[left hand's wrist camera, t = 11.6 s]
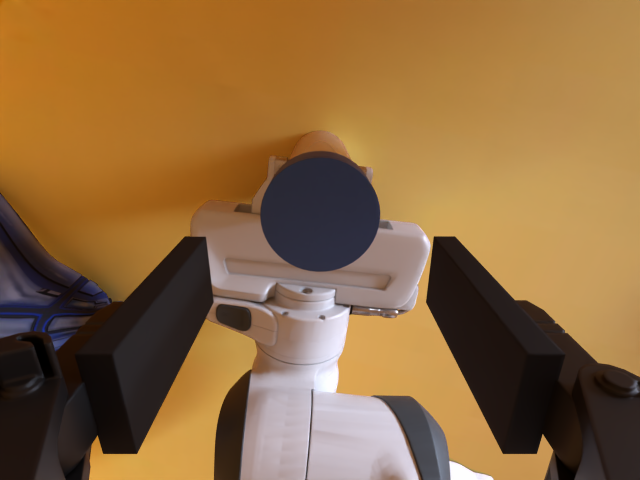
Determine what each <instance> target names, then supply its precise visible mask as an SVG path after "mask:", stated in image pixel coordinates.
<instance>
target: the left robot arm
mask: <svg viewBox="0 0 640 480" xmlns="http://www.w3.org/2000/svg"><path fill="white" fill-rule="evenodd" d="M213 303H214V299H213V291H212V282H211V274H210V266H209V257H208V249H207V240H206V237H184V238H183V239H182V240H181V241H180V243H179V244H178V245H177V246H176V247H175V248H174V249H173V250H172V251H171V252H170V253H169V254H168V255H167V256H166V257H165V258H164V260H163V261H162V262H161V263H160V264H159V265H158V266H157V267H156V268H155V269H154V270H153V271H152V272H151V273H150V274H149V275H148V277H147V278H146V279H145V280H144V281H143V282H142V283H141V284H140V285H139V286H138V287H137V288H136V289H135V290H134V291H133V293H132V294H131V295H130V296H129V297H128V298H127V299H126V300H125V301H124V302H112V303H111V304H109V305H107V306H105V307H104V308H102V309H100V310H98V311H97V312H96V313H95V314H94V315H93V316H92V317H91V318H90V319H89V320H88V321H86V322H85V325H82V326H81V327H80V328H79V329H78V330H77V331H76V334H75V335H72V336H71V337H70V338H69V339H68V340H67V341H66V342H65V343H64V344H63V345H62V346H61V347H60V348H59V349H58V350H57V351H55V348H54V345H53V342H52V338H51V336H50V335H48V334H46V333H45V332H37V331H31V332H22V333H17V334H14V335H10V336H6V337H3V338H1V339H0V480H89V474H90V461H89V457H88V454H87V451H88V449H89V448H90V446H91V445H92V443H93V441H94V440H95V438H96V437H97V435H98V438H99V441H100V444H101V448H102V451H103V454H137V453H138V451H139V449H140V447H141V445H142V443H143V441H144V439H145V437H146V435H147V433H148V431H149V429H150V427H151V425H152V423H153V421H154V419H155V417H156V415H157V413H158V411H159V409H160V407H161V405H162V403H163V401H164V400H165V398H166V396H167V394H168V392H169V390H170V388H171V386H172V384H173V382H174V380H175V378H176V376H177V374H178V372H179V370H180V368H181V366H182V364H183V362H184V360H185V358H186V356H187V354H188V352H189V350H190V348H191V346H192V344H193V342H194V340H195V338H196V336H197V334H198V333H199V331H200V329H201V327H202V325H203V323H204V321H205V319H206V317H207V315H208V313H209V311H210V309H211V307H212V305H213ZM426 303H427V305H428V307H429V309H430V311H431V313H432V315H433V317H434V319H435V321H436V323H437V325H438V327H439V329H440V331H441V333H442V334H443V336H444V338H445V340H446V342H447V344H448V346H449V348H450V350H451V352H452V354H453V356H454V358H455V360H456V362H457V364H458V366H459V368H460V370H461V372H462V374H463V376H464V378H465V380H466V382H467V384H468V386H469V388H470V390H471V392H472V394H473V396H474V398H475V400H476V401H477V403H478V405H479V407H480V409H481V411H482V413H483V415H484V417H485V419H486V421H487V423H488V425H489V427H490V429H491V431H492V433H493V435H494V437H495V439H496V441H497V443H498V445H499V447H500V449H501V451H502V453H503V454H537V451H538V448H539V444H540V441H541V438H542V434H543V435H544V436H545V438H546V439H547V441H548V442H549V444H550V446H551V447H552V449H553V454H552V457H551V460H550V463H549V466H548V470H547V473H546V476H545V479H544V480H640V377H638V376H636V375H634V374H632V373H630V372H628V371H626V370H624V369H621V368H618V367H615V366H611V365H607V364H600V363H597V362H596V361H595V360H594V359H593V358H592V357H591V356H590V355H589V354H588V353H587V352H586V351H585V350H584V349H583V348H582V347H581V346H580V345H579V344H578V343H577V342H576V341H575V340H574V339H573V338H572V337H571V336H570V335H569V334H568V333H565V330H563V329H562V328H561V327H560V326H559V325H558V324H555V321H554V320H553V319H552V318H551V317H550V316H549V315H548V314H547V313H546V312H545V311H544V310H542V309H541V308H539V307H537V306H535V305H534V304H532V303H530V302H528V301H526V300H514V299H513V298H512V297H511V296H510V295H509V294H508V293H507V291H506V290H505V289H504V288H503V287H502V286H501V285H500V284H499V283H498V282H497V281H496V280H495V279H494V278H493V277H492V275H491V274H490V273H489V272H488V271H487V270H486V269H485V268H484V267H483V266H482V265H481V264H480V263H479V262H478V261H477V260H476V258H475V257H474V256H473V255H472V254H471V253H470V252H469V251H468V250H467V249H466V248H465V247H464V246H463V245H462V244H461V243H460V241H459V240H458V239H457V238H456V237H434V240H433V249H432V257H431V266H430V274H429V282H428V291H427V299H426Z"/></svg>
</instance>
